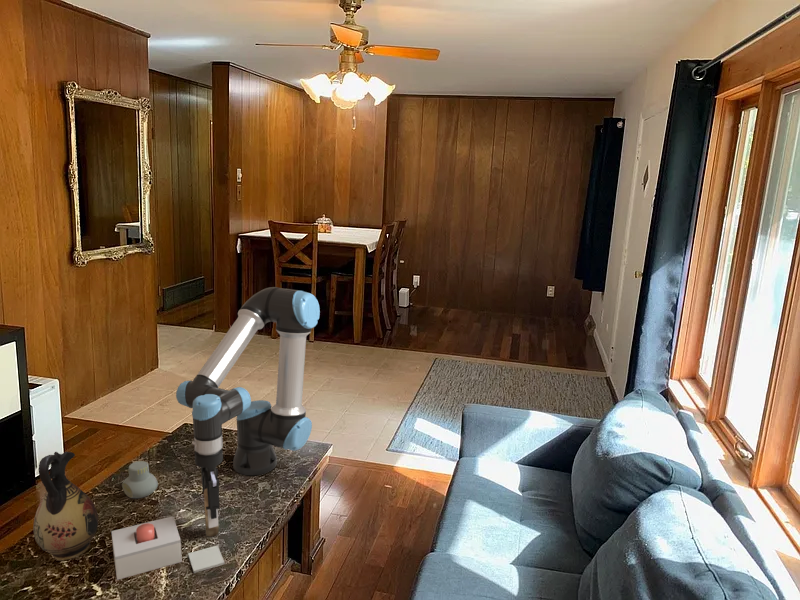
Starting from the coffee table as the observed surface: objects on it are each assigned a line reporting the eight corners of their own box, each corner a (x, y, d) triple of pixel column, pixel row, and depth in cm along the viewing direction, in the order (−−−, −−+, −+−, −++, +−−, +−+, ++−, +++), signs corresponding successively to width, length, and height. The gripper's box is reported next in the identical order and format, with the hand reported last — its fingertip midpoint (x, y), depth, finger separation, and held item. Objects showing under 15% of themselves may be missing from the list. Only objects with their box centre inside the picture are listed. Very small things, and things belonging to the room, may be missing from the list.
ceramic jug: (58, 531, 173) (47, 436, 166) (110, 533, 173) (102, 439, 166) (19, 570, 157) (6, 467, 150) (78, 574, 157) (66, 471, 149)
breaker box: (174, 536, 173) (173, 516, 171) (181, 561, 163) (180, 539, 161) (113, 552, 165) (111, 531, 163) (117, 579, 155) (115, 557, 153)
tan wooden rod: (217, 528, 177) (215, 485, 174) (220, 534, 174) (218, 492, 171) (204, 531, 176) (202, 488, 172) (207, 538, 173) (205, 495, 169)
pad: (217, 547, 169) (217, 545, 169) (224, 564, 162) (224, 562, 162) (188, 555, 165) (188, 553, 165) (193, 573, 159) (193, 571, 158)
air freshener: (120, 491, 194) (117, 463, 192) (144, 482, 200) (142, 454, 198) (136, 505, 187) (133, 476, 185) (161, 494, 193) (159, 466, 191)
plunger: (153, 537, 166) (152, 521, 165) (156, 546, 162) (155, 530, 161) (136, 542, 164) (135, 526, 163) (138, 551, 160) (137, 535, 159)
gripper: (189, 439, 174) (192, 510, 179) (200, 465, 160) (204, 542, 165) (215, 434, 177) (218, 504, 183) (229, 459, 163) (231, 534, 169)
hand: (211, 522), depth 174 cm, fingers closed on tan wooden rod, 3 cm apart
